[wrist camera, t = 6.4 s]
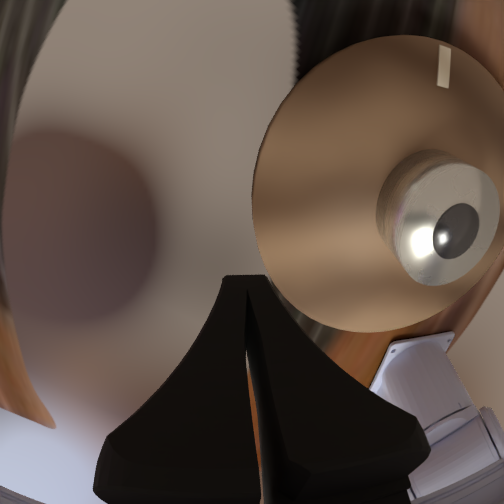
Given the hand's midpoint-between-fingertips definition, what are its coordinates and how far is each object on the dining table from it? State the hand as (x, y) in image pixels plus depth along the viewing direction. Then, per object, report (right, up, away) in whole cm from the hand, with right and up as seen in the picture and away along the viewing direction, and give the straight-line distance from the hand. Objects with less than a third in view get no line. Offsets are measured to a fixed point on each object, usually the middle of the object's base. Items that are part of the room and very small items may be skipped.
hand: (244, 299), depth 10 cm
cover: (+11, +4, +6) cm, 13 cm away
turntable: (+10, +5, +7) cm, 13 cm away
